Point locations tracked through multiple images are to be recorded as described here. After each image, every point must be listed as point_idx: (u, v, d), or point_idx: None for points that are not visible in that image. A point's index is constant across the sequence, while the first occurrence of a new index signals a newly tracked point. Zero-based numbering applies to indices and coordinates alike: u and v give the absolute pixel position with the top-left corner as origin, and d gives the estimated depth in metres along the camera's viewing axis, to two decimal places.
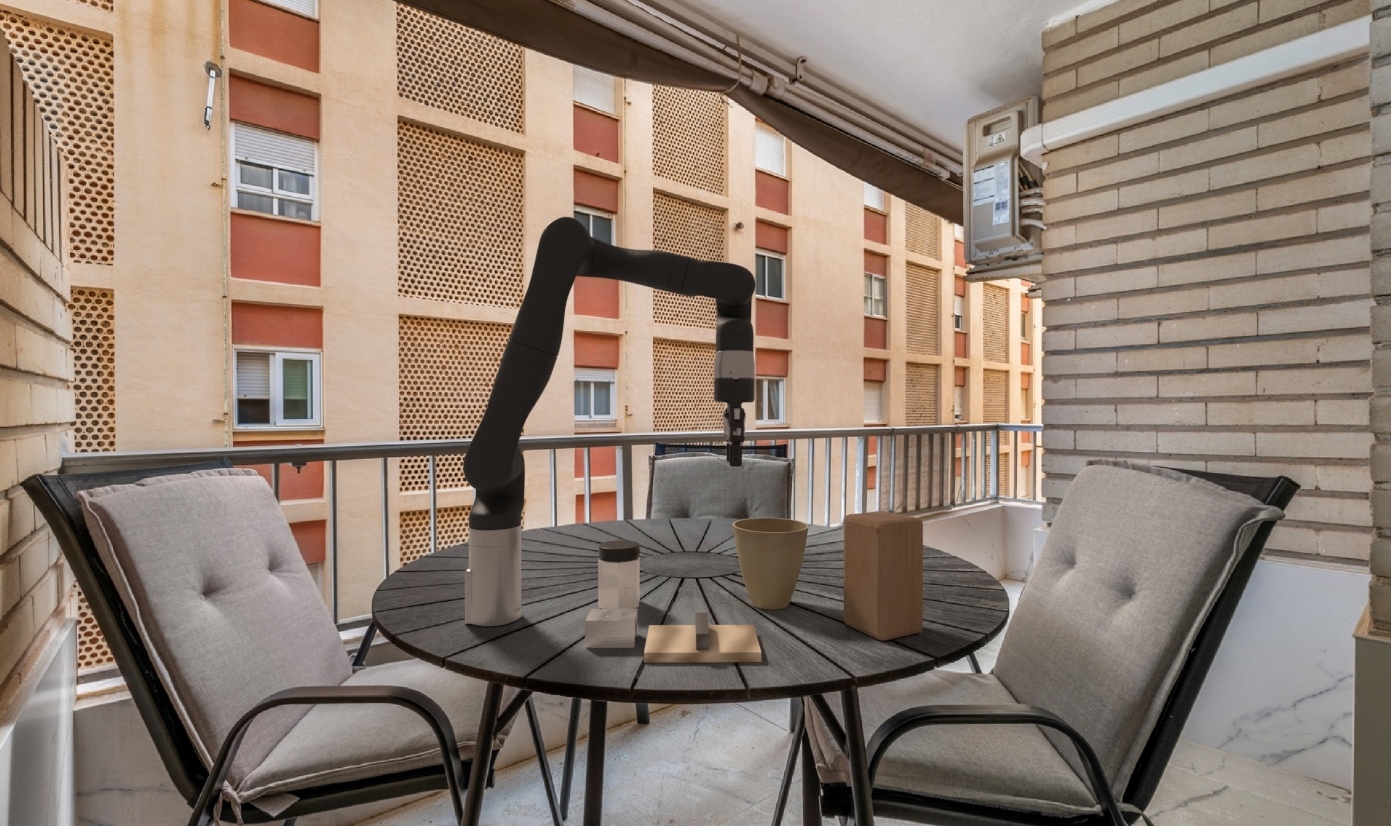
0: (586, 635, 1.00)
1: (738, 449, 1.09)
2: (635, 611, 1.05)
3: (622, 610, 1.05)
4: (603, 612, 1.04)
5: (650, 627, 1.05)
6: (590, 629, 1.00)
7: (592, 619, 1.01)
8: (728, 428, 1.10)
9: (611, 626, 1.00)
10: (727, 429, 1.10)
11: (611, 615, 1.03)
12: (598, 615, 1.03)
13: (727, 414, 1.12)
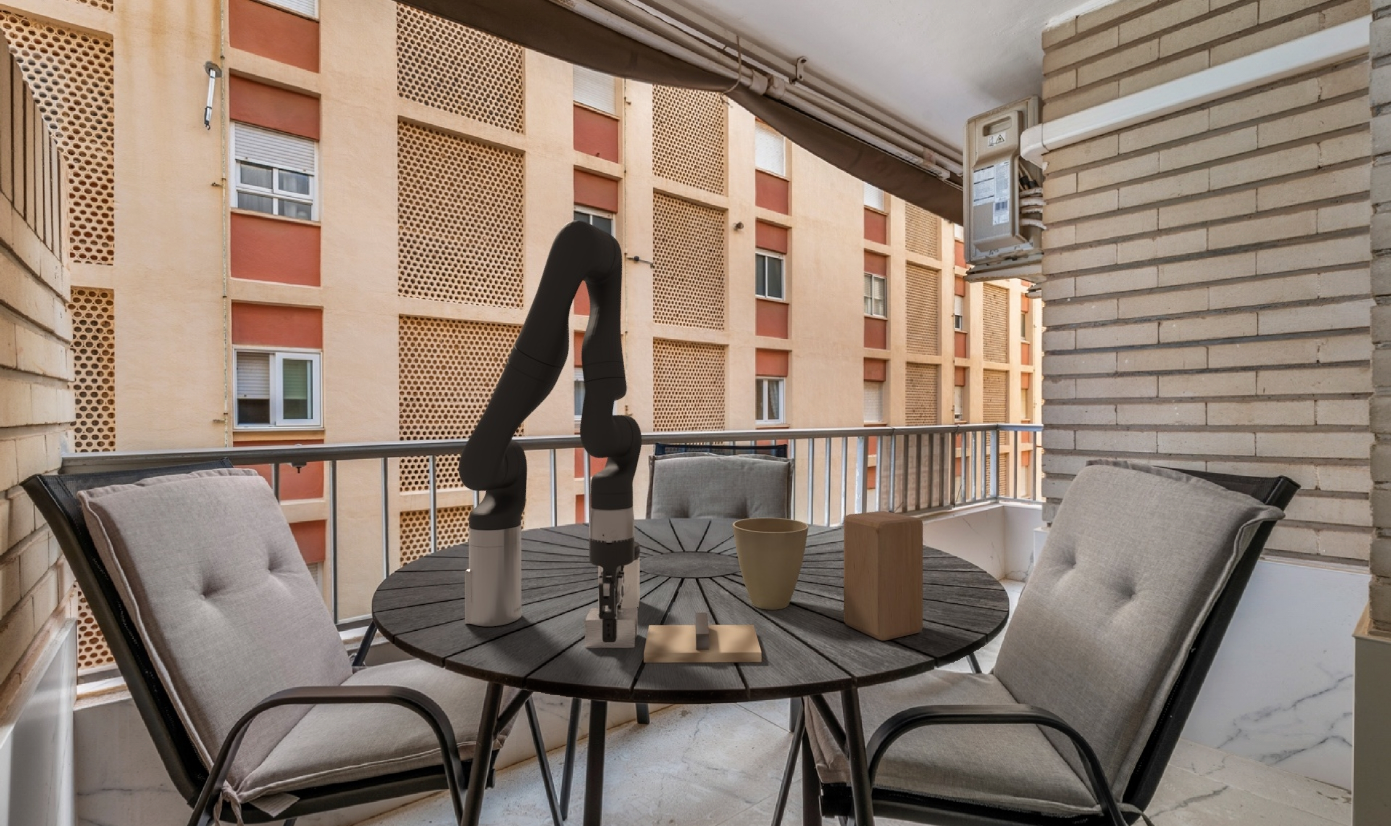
0: (586, 634, 1.00)
1: (611, 624, 0.99)
2: (635, 610, 1.05)
3: (622, 609, 1.05)
4: None
5: (650, 627, 1.05)
6: (590, 628, 1.00)
7: (591, 619, 1.01)
8: None
9: None
10: None
11: None
12: (598, 614, 1.03)
13: (601, 580, 1.01)
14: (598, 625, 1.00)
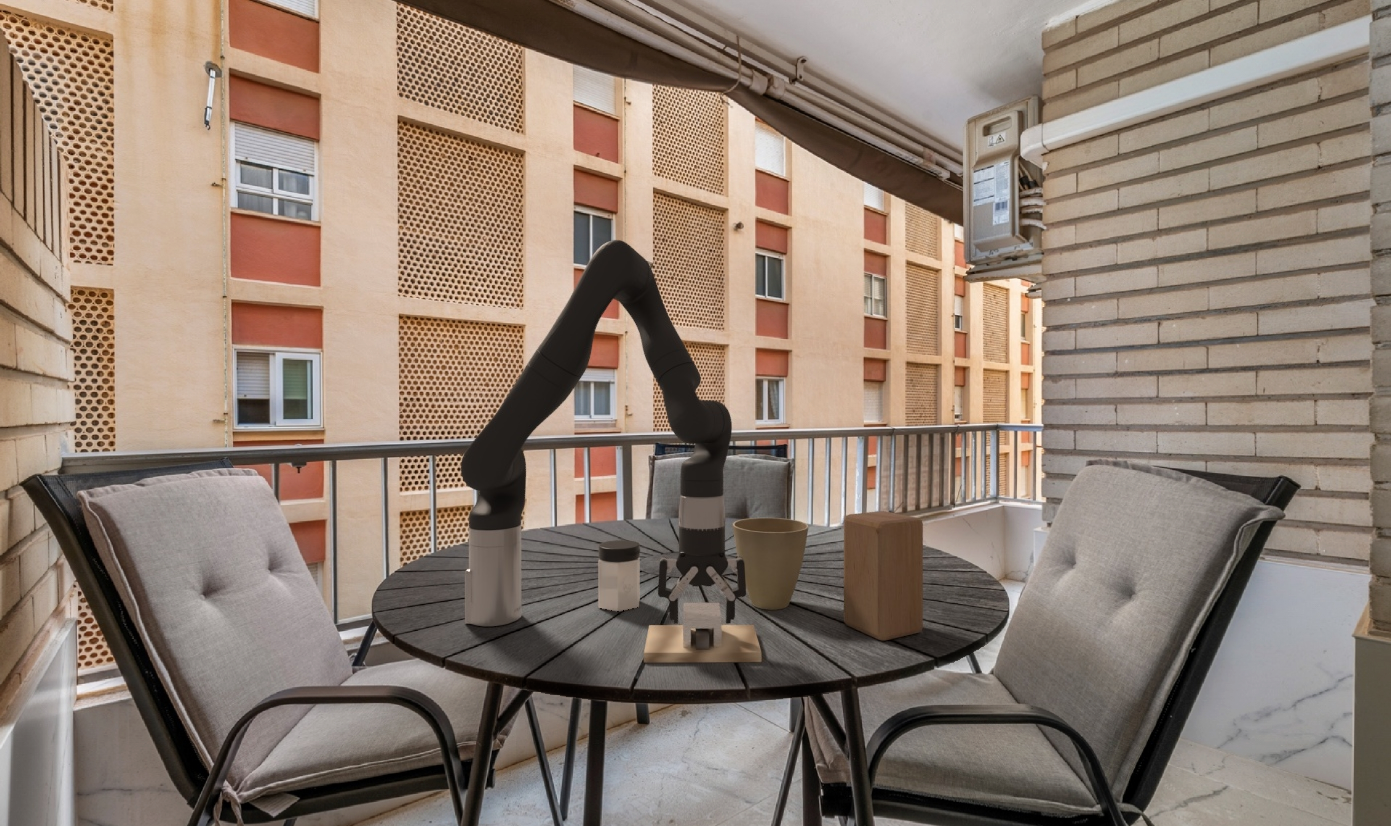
0: None
1: None
2: (711, 618, 0.96)
3: (714, 613, 0.99)
4: (706, 607, 1.02)
5: (650, 627, 1.05)
6: None
7: (686, 604, 1.03)
8: (679, 578, 1.01)
9: None
10: (678, 579, 1.02)
11: (698, 610, 1.00)
12: (699, 606, 1.02)
13: None
14: None
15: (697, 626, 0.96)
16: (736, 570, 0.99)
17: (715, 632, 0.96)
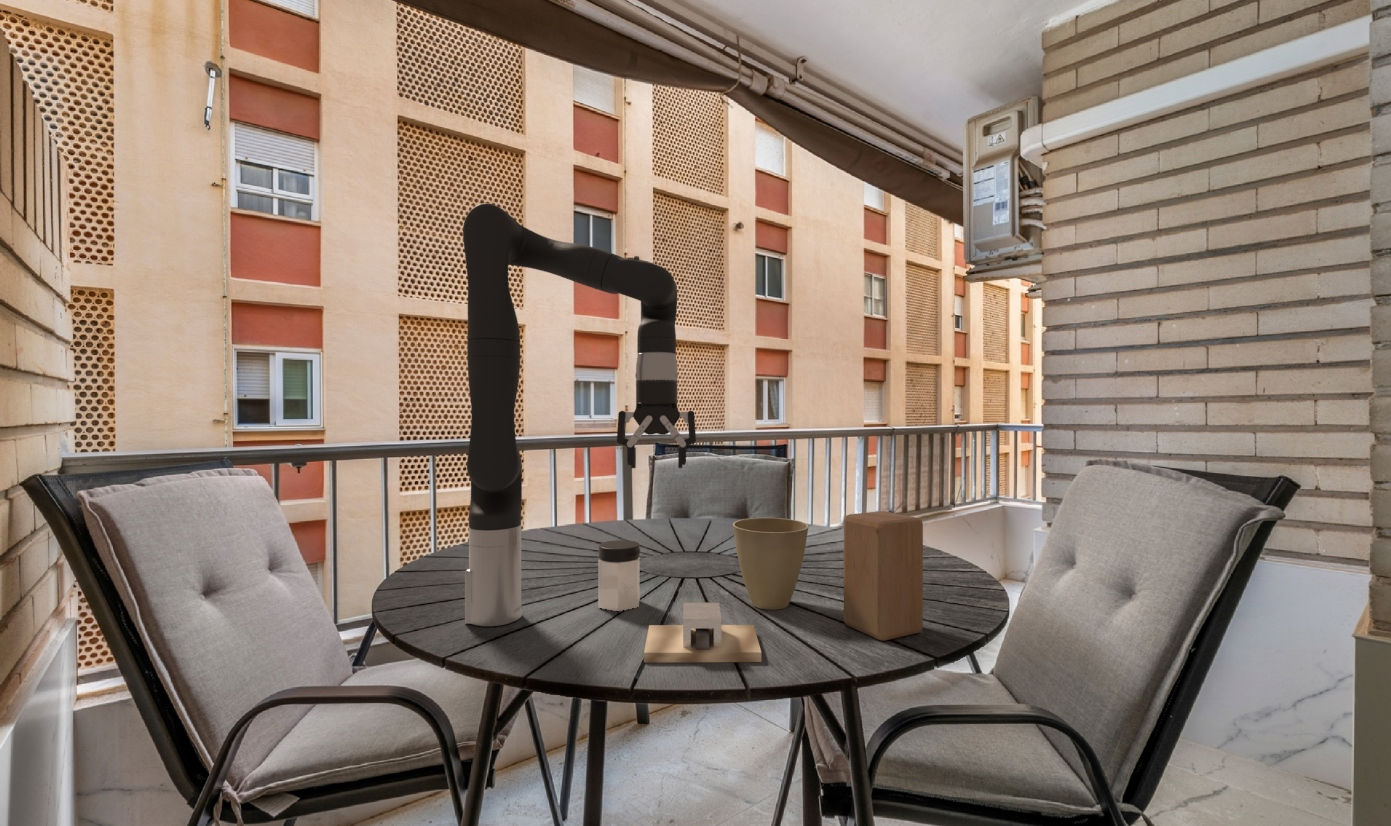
0: None
1: None
2: (711, 618, 0.96)
3: (714, 613, 0.99)
4: (706, 607, 1.02)
5: (650, 627, 1.05)
6: None
7: (686, 604, 1.03)
8: None
9: None
10: None
11: (698, 610, 1.00)
12: (699, 606, 1.02)
13: None
14: None
15: (697, 626, 0.96)
16: (687, 420, 1.11)
17: (715, 632, 0.96)
